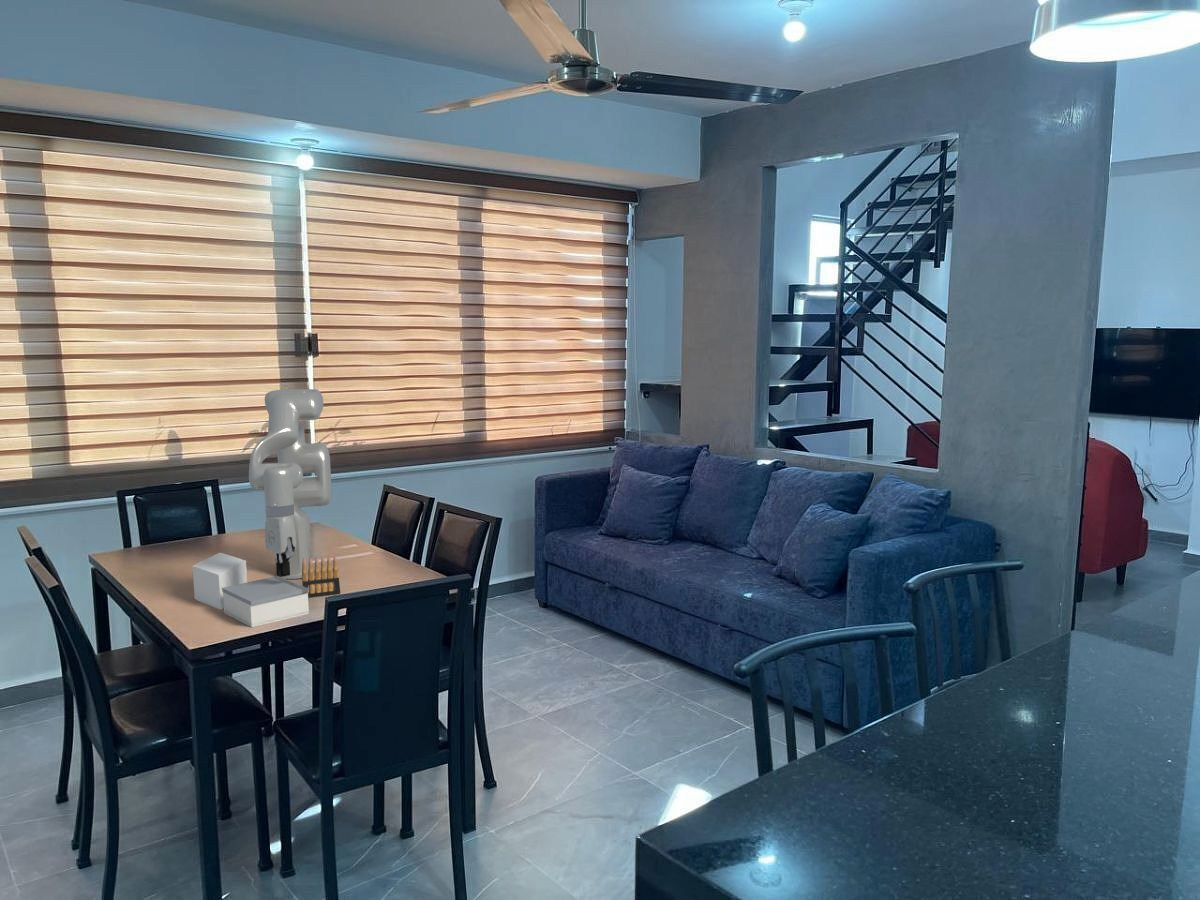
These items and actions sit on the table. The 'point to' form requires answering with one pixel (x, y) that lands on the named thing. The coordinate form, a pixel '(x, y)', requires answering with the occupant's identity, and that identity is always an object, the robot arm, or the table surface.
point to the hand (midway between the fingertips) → (283, 575)
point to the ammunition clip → (321, 577)
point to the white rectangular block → (217, 578)
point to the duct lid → (264, 590)
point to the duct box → (266, 609)
